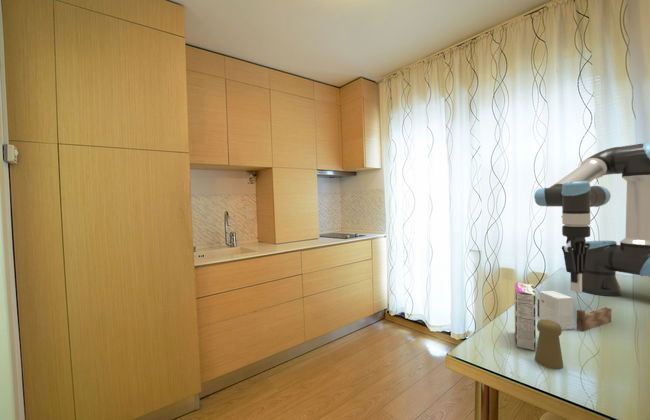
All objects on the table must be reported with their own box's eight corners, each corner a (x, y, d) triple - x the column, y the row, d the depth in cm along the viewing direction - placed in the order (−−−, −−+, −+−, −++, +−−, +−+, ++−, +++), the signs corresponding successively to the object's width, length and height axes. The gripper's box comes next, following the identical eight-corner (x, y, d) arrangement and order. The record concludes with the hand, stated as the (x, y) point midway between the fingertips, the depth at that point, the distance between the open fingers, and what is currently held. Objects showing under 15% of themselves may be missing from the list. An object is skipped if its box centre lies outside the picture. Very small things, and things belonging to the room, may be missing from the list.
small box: (573, 329, 96) (574, 297, 96) (557, 330, 96) (557, 298, 95) (553, 319, 104) (554, 290, 104) (538, 320, 104) (538, 290, 103)
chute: (566, 308, 114) (566, 292, 114) (611, 321, 102) (611, 303, 102) (537, 316, 107) (537, 299, 107) (582, 331, 94) (582, 311, 94)
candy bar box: (514, 332, 95) (514, 282, 94) (533, 336, 92) (533, 284, 92) (514, 347, 85) (515, 291, 85) (536, 351, 83) (536, 294, 82)
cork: (529, 357, 80) (529, 317, 79) (549, 355, 80) (550, 316, 80) (547, 370, 74) (548, 326, 73) (569, 368, 74) (570, 325, 74)
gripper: (573, 223, 110) (574, 285, 111) (552, 226, 104) (553, 291, 105) (599, 224, 103) (599, 290, 104) (578, 227, 97) (578, 297, 99)
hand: (576, 290), depth 105 cm, fingers closed
